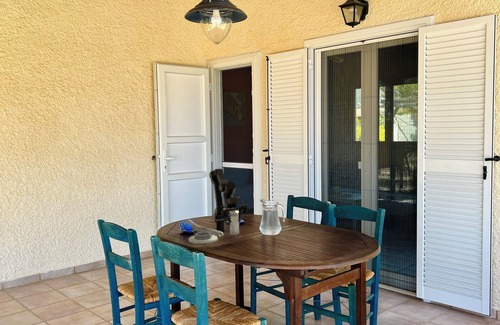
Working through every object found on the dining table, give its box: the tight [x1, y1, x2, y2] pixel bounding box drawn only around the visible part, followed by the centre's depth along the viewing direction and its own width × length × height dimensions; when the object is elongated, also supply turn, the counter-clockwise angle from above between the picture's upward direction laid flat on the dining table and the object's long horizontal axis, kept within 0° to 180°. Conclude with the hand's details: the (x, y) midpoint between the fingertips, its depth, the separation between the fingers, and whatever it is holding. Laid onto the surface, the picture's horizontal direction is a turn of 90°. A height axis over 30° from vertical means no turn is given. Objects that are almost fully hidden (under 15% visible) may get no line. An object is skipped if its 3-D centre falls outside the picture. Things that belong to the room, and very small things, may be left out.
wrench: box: [184, 219, 224, 238], centre depth 288 cm, size 8×2×30 cm
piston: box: [228, 210, 240, 235], centre depth 263 cm, size 5×5×13 cm
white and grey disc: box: [188, 231, 219, 245], centre depth 271 cm, size 17×17×4 cm
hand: (234, 222), depth 262 cm, fingers closed on piston, 5 cm apart
